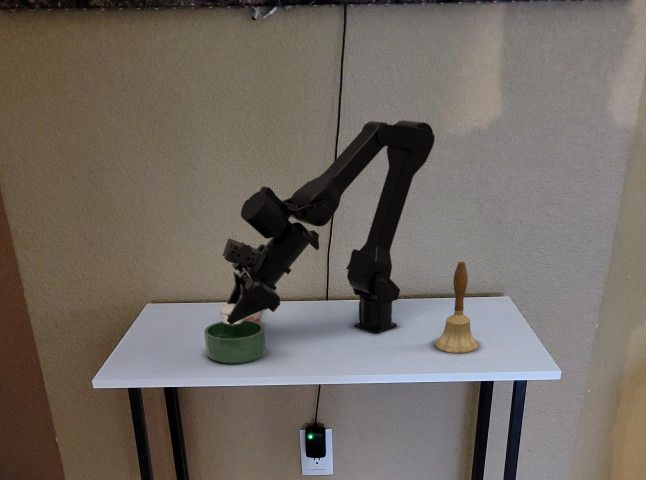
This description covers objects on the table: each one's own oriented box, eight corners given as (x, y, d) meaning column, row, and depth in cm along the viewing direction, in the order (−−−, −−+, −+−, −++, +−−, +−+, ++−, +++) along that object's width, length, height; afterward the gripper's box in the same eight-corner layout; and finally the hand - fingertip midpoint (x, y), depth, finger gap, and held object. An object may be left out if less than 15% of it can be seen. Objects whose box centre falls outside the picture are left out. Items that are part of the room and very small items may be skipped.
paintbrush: (236, 325, 149) (249, 299, 166) (237, 338, 150) (250, 311, 168) (255, 324, 149) (267, 299, 166) (256, 338, 150) (268, 311, 167)
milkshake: (255, 348, 144) (250, 296, 139) (238, 357, 141) (232, 304, 136) (237, 345, 147) (231, 294, 142) (219, 353, 143) (213, 301, 138)
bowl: (277, 354, 144) (276, 329, 141) (230, 370, 137) (227, 343, 134) (242, 340, 151) (240, 315, 148) (195, 354, 144) (192, 329, 142)
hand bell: (474, 355, 141) (482, 269, 133) (431, 351, 143) (435, 266, 135) (480, 340, 148) (487, 257, 139) (438, 336, 150) (443, 255, 142)
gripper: (238, 212, 140) (187, 277, 143) (256, 233, 124) (198, 306, 128) (282, 251, 145) (231, 313, 149) (304, 276, 130) (247, 345, 134)
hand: (226, 318), depth 140 cm, fingers closed on milkshake, 4 cm apart
